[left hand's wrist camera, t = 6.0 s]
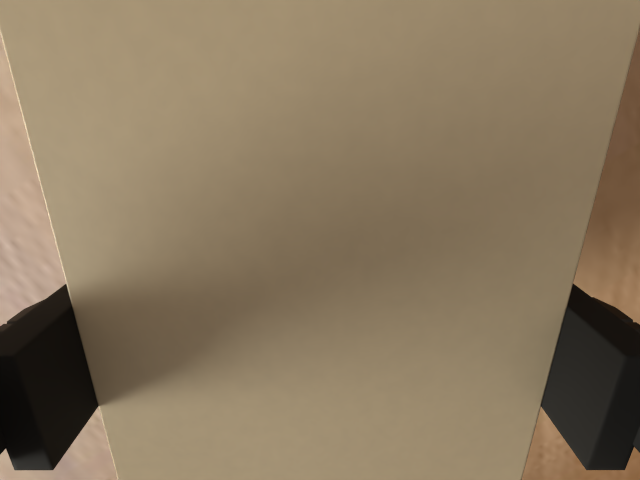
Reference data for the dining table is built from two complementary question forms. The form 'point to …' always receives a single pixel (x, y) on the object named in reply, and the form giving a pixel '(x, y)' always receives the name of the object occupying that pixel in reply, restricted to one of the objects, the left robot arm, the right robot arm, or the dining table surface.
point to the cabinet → (319, 221)
